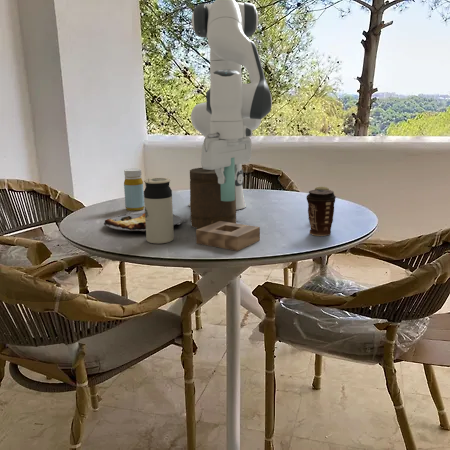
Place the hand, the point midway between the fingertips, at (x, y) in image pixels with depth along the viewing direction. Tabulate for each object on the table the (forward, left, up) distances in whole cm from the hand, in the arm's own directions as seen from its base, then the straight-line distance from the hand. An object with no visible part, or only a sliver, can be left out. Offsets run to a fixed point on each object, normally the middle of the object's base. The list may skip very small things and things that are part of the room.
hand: (227, 182), depth 136 cm
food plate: (-34, +1, -18) cm, 39 cm away
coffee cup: (+19, +22, -18) cm, 34 cm away
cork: (+12, +39, -18) cm, 44 cm away
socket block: (0, 0, -17) cm, 17 cm away
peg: (0, 0, -5) cm, 5 cm away
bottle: (-54, +18, -18) cm, 60 cm away
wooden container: (-15, +14, -18) cm, 27 cm away
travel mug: (-18, -9, -18) cm, 27 cm away
